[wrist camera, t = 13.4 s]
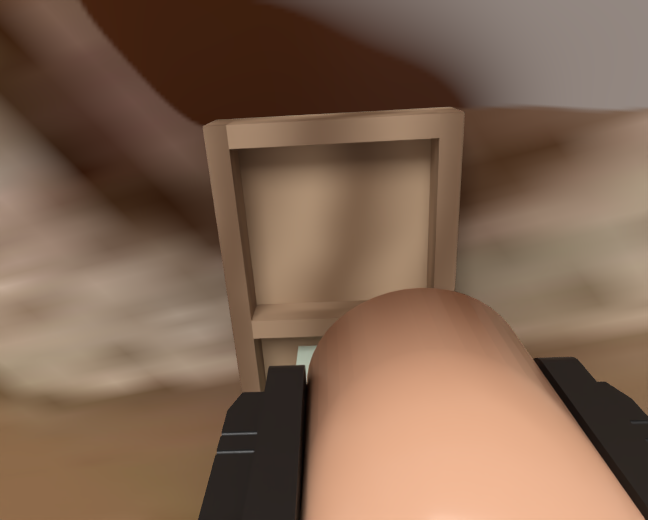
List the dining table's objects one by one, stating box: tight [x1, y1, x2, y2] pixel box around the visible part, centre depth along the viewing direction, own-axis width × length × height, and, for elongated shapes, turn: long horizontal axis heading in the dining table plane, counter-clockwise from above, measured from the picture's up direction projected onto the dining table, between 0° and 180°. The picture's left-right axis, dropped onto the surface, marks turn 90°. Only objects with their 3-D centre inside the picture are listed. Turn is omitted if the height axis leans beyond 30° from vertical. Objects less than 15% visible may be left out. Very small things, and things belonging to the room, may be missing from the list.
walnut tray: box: [203, 107, 465, 393], centre depth 25 cm, size 11×20×3 cm, turn 3°
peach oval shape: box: [300, 288, 645, 520], centre depth 7 cm, size 5×5×6 cm
